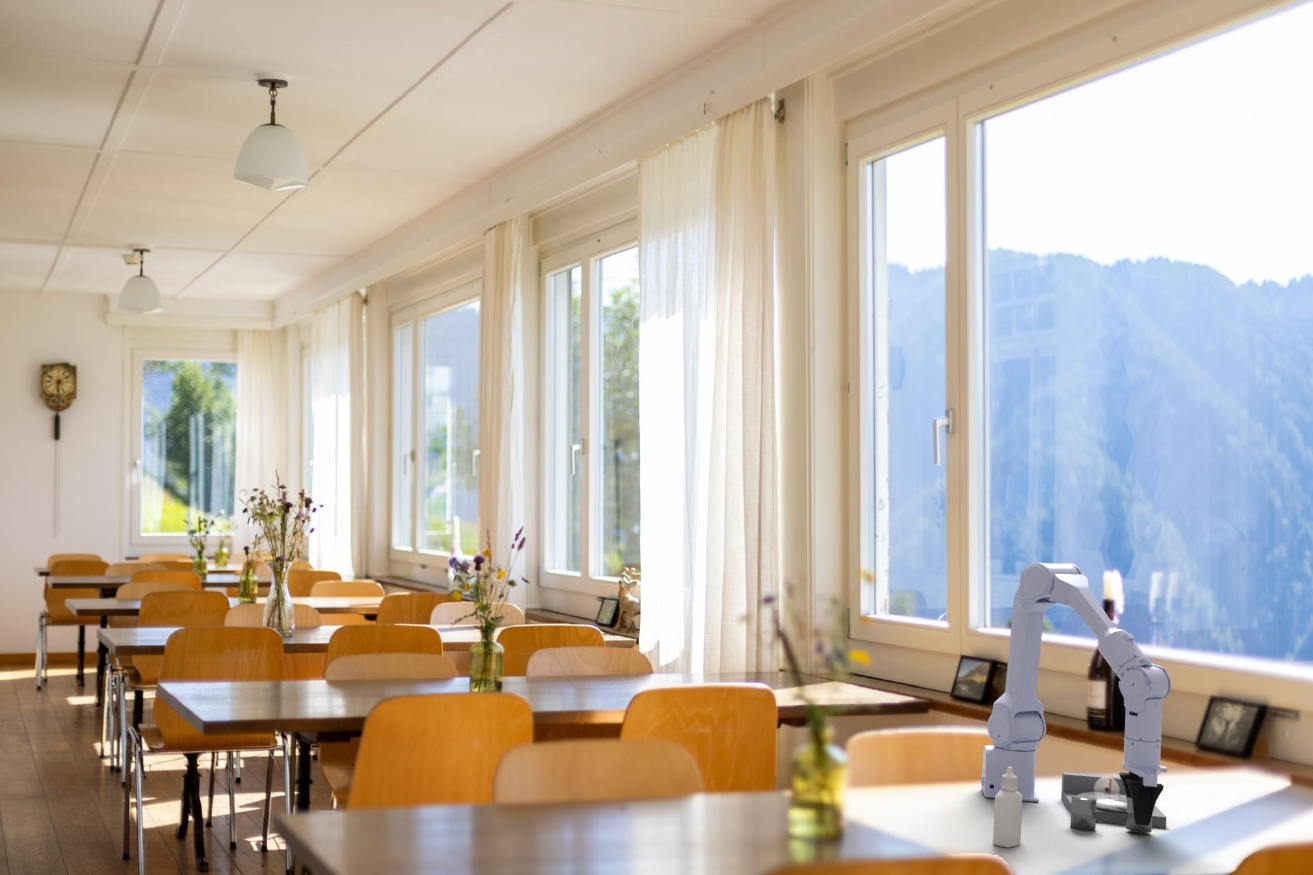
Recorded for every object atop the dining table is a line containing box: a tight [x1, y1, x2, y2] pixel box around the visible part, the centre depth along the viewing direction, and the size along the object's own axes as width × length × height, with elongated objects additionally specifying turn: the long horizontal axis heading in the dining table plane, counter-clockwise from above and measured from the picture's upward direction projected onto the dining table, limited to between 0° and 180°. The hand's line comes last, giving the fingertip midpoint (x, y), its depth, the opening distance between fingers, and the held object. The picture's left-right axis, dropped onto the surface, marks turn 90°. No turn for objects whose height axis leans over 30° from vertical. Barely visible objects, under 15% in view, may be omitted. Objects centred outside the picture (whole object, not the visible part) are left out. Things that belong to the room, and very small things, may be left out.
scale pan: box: [1079, 792, 1127, 812], centre depth 229 cm, size 12×12×1 cm
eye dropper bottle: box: [992, 767, 1023, 849], centre depth 206 cm, size 4×6×12 cm
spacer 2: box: [1125, 797, 1153, 834], centre depth 217 cm, size 4×4×5 cm
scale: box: [1060, 771, 1167, 829], centre depth 230 cm, size 15×15×5 cm
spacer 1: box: [1069, 795, 1097, 833], centre depth 219 cm, size 4×4×5 cm
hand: (1139, 820), depth 217 cm, fingers closed on spacer 2, 4 cm apart
